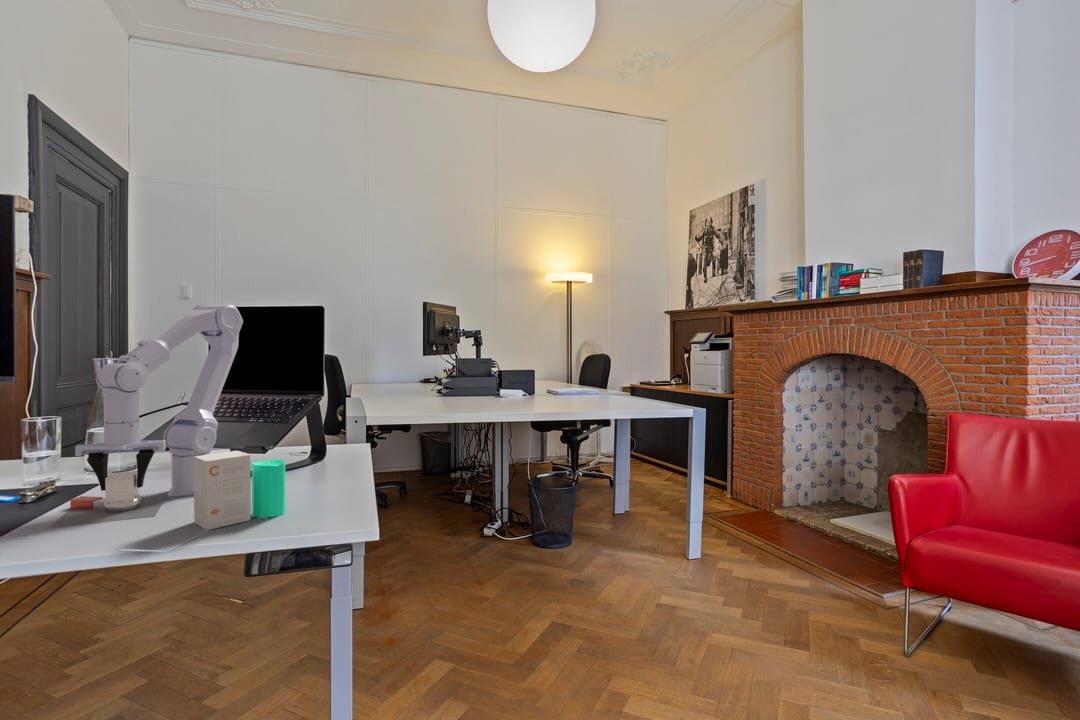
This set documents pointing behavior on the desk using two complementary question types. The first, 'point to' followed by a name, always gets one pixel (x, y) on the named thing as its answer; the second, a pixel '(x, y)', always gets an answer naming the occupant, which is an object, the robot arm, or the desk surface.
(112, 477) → the pale grey cube
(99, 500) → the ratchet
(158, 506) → the mat
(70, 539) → the desk surface
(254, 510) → the candle
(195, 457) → the small box
